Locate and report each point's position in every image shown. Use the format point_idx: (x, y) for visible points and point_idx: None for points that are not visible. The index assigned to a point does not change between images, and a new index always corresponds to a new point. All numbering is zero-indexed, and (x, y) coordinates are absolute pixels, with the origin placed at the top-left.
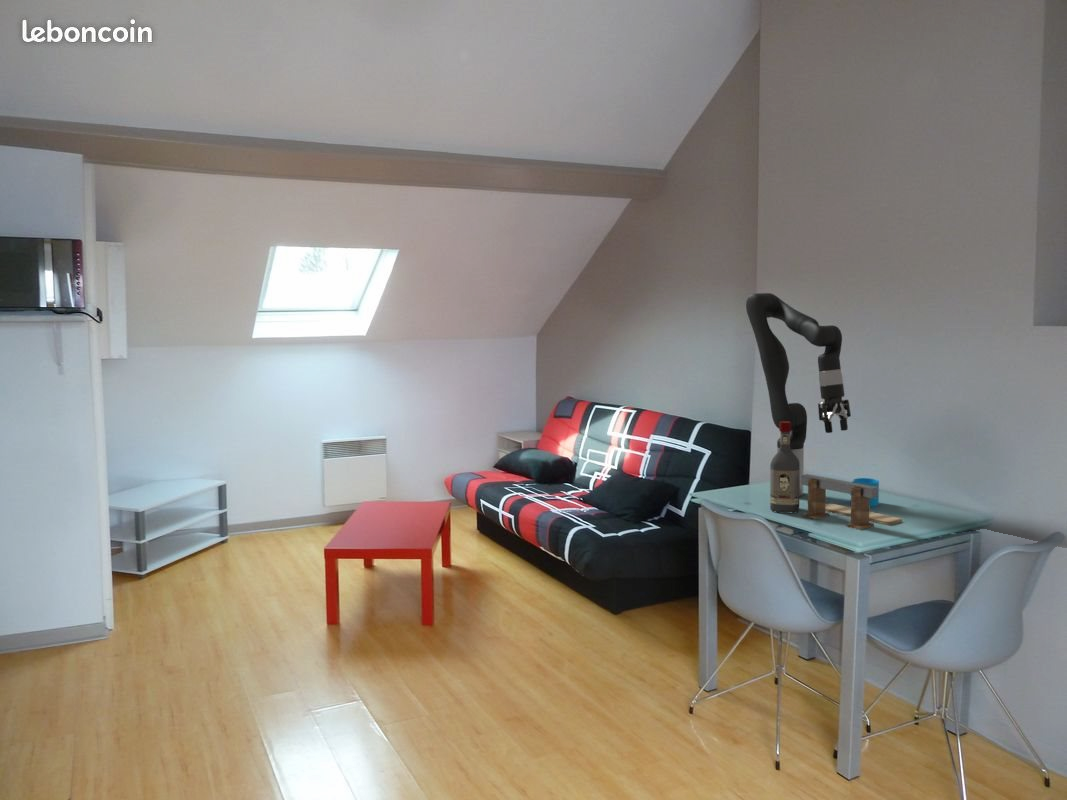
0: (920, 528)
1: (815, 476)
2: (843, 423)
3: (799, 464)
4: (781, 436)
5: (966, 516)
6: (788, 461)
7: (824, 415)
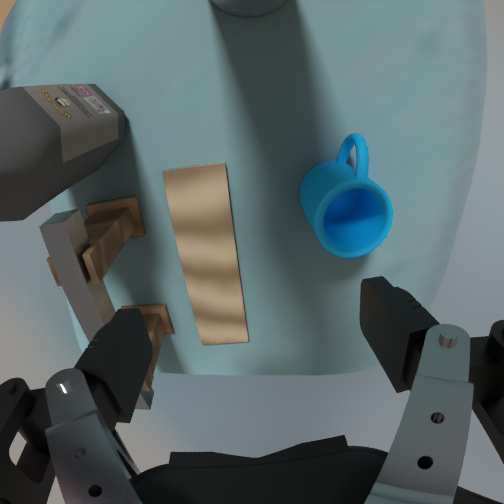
0: (235, 370)
1: (70, 264)
2: (386, 343)
3: (47, 179)
4: None
5: (370, 357)
6: None
7: (24, 459)
